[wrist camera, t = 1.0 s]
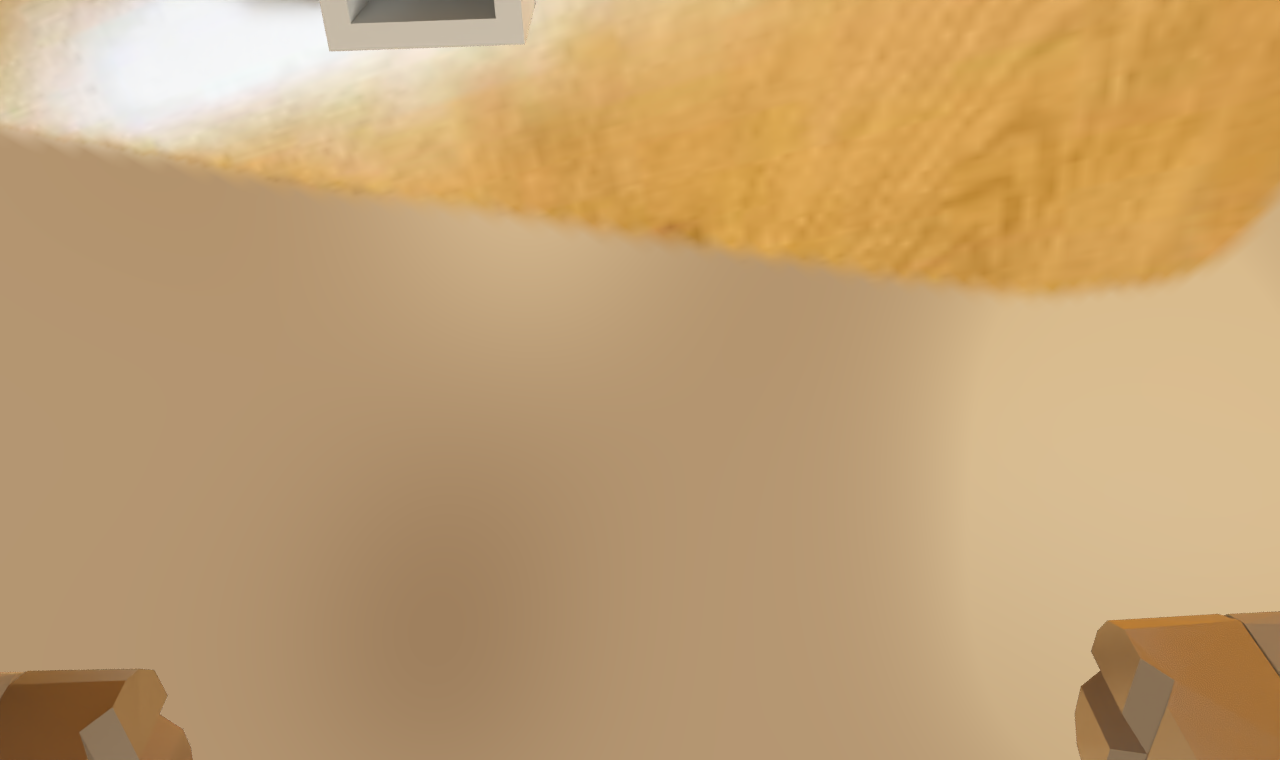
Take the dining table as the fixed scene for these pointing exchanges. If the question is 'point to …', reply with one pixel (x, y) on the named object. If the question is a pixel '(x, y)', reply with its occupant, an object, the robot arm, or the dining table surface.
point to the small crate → (424, 23)
